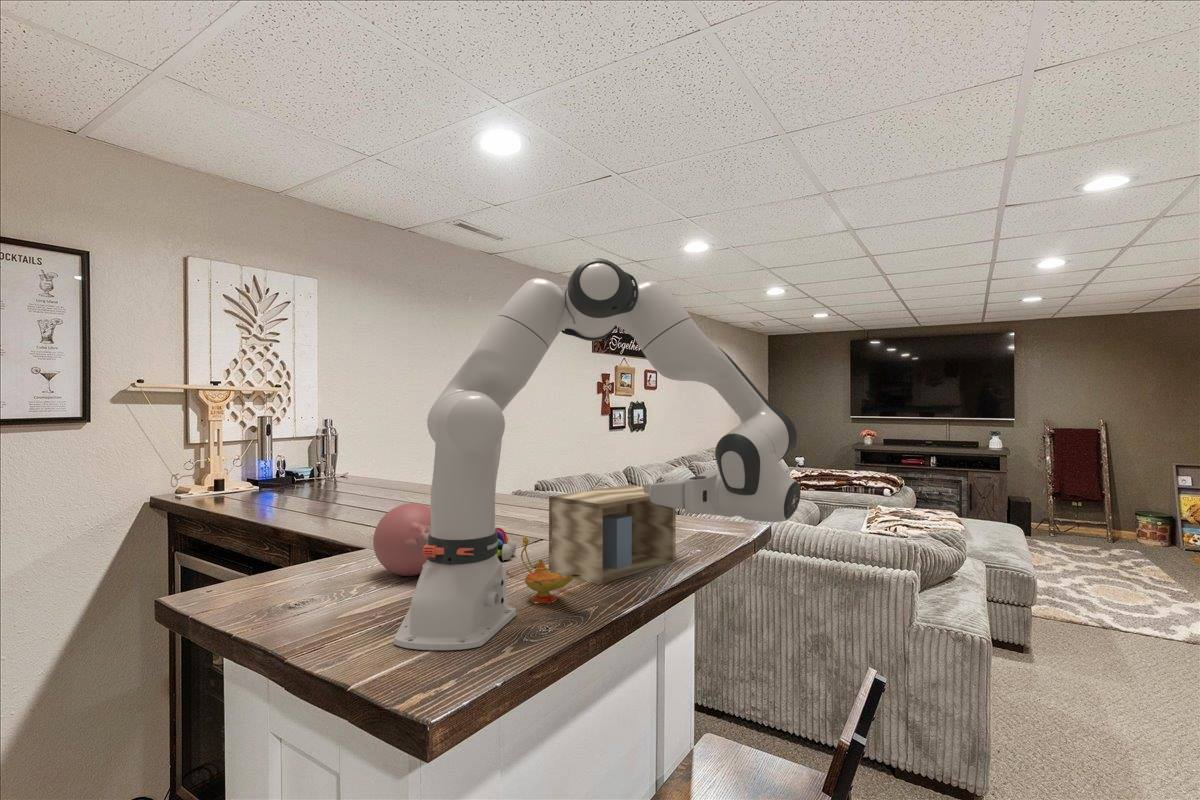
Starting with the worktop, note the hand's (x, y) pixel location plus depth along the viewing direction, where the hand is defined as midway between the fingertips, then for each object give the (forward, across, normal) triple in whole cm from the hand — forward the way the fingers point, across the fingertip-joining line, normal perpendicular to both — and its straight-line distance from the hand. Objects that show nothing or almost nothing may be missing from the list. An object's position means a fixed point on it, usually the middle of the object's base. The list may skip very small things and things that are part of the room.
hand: (659, 485), depth 124 cm
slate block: (+12, 0, +19) cm, 22 cm away
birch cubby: (+12, 0, +20) cm, 23 cm away
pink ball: (+40, +34, +20) cm, 56 cm away
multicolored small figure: (+40, +12, +20) cm, 46 cm away
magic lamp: (+7, +25, +20) cm, 33 cm away
